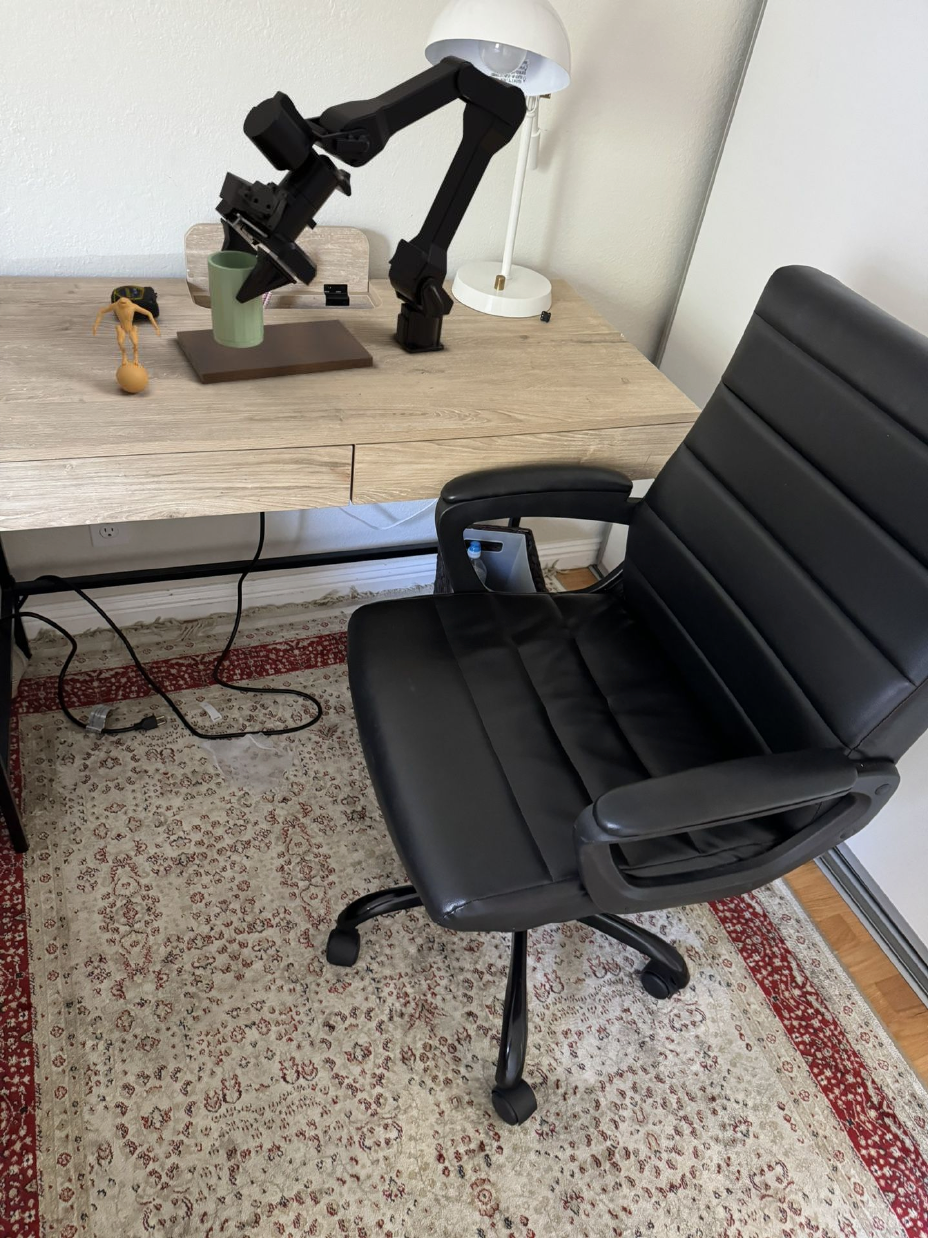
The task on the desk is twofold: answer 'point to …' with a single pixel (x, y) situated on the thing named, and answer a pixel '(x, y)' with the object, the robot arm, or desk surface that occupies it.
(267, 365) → the walnut board
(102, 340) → the desk surface
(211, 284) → the pencil cup
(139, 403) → the desk surface
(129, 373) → the figurine
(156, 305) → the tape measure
